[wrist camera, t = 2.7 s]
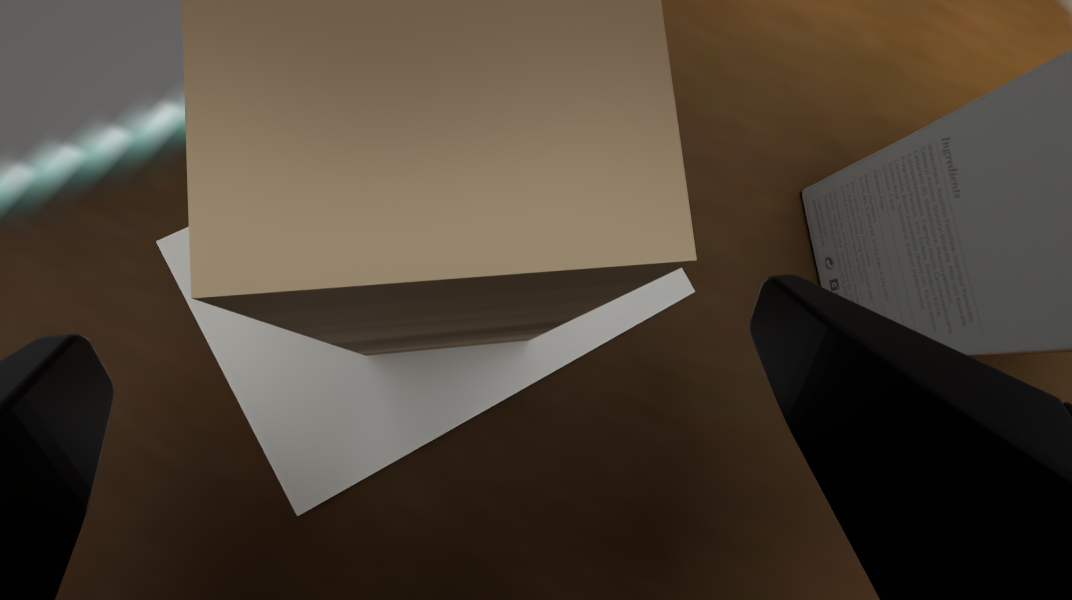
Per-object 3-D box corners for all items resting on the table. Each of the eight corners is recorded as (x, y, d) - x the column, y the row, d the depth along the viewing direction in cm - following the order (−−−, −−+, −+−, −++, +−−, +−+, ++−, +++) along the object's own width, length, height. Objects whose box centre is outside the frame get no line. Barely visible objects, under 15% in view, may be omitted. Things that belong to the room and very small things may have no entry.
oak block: (529, 340, 19) (696, 260, 6) (365, 355, 18) (191, 298, 5) (514, 186, 19) (639, -159, 7) (355, 195, 18) (176, -181, 6)
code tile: (299, 515, 17) (297, 516, 17) (159, 243, 17) (155, 241, 17) (692, 292, 20) (695, 291, 20) (563, 62, 20) (565, 59, 20)
